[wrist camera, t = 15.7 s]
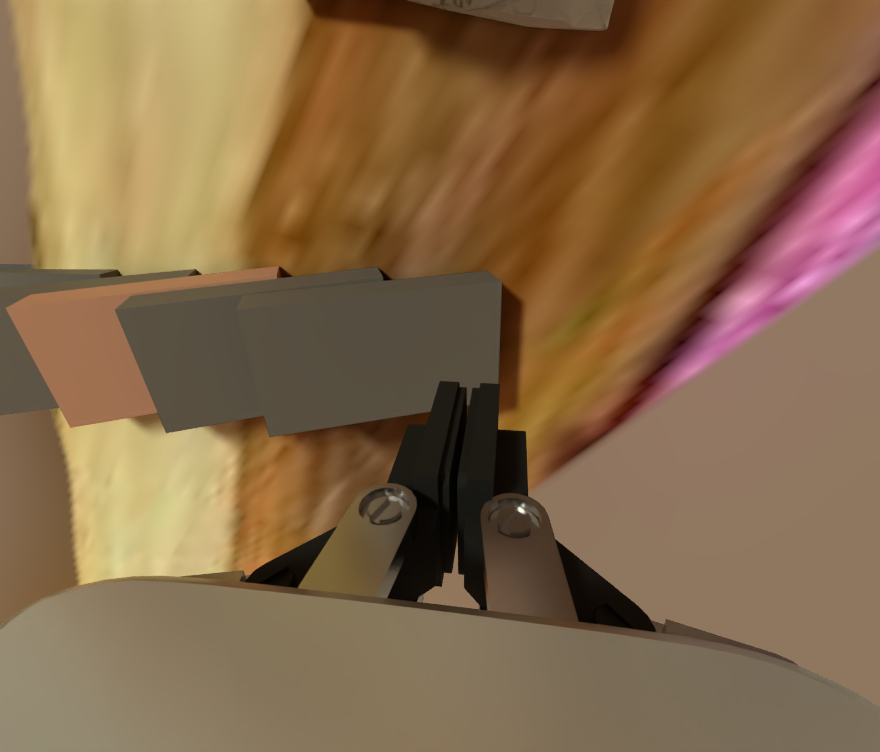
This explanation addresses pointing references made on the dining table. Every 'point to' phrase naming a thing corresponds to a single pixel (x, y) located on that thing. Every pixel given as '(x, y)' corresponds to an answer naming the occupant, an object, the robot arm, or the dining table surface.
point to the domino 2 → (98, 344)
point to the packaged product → (535, 12)
